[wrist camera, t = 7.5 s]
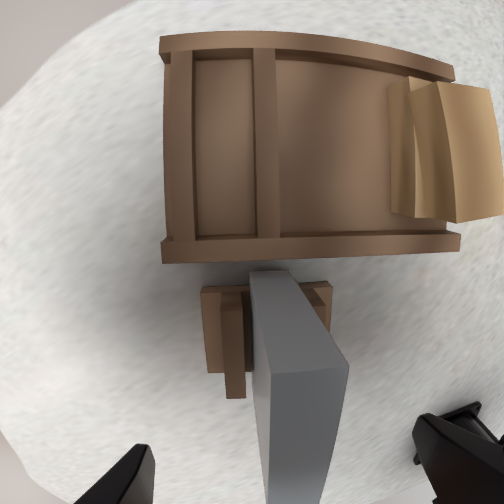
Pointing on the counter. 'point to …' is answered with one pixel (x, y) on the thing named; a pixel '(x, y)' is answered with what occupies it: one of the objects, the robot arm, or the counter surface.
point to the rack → (285, 148)
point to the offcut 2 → (458, 152)
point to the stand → (243, 329)
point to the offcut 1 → (405, 150)
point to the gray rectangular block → (293, 388)
